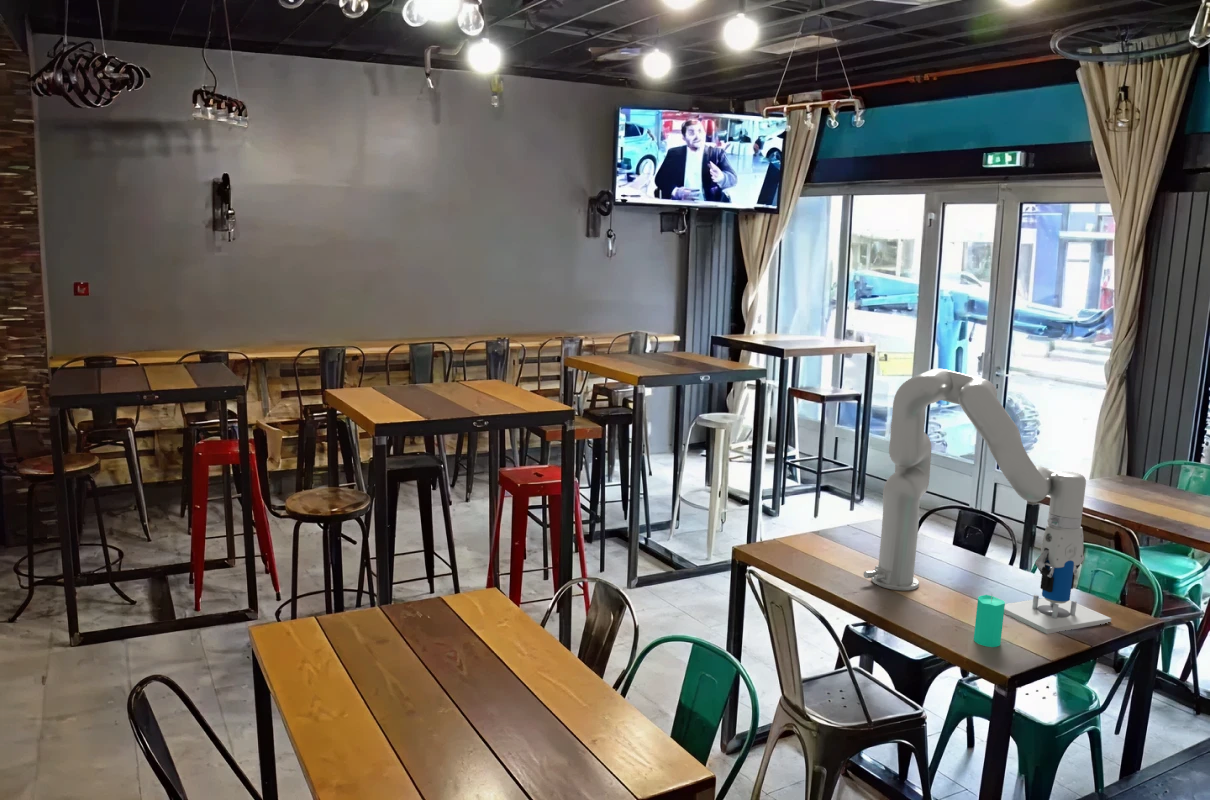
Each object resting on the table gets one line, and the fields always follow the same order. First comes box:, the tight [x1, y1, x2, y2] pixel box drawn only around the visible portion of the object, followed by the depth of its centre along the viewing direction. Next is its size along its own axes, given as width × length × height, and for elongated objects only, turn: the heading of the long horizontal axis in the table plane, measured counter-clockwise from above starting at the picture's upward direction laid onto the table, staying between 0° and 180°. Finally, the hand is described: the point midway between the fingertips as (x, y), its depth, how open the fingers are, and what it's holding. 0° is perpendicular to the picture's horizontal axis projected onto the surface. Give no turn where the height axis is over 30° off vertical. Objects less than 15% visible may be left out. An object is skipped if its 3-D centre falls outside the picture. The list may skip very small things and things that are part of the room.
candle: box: [973, 594, 1006, 648], centre depth 223 cm, size 6×6×12 cm
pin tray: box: [1004, 594, 1112, 635], centre depth 241 cm, size 22×16×5 cm
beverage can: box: [1041, 558, 1074, 603], centre depth 240 cm, size 6×6×12 cm
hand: (1056, 588), depth 240 cm, fingers closed on beverage can, 6 cm apart
